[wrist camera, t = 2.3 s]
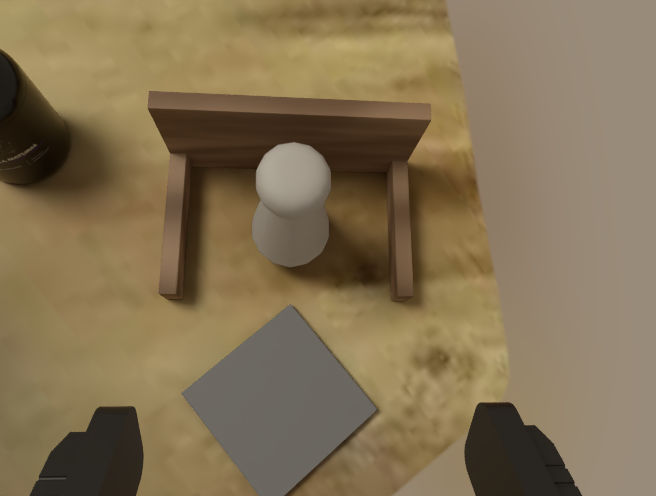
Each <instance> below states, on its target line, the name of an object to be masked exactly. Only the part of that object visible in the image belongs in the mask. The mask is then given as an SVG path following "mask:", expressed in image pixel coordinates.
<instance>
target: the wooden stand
mask: <svg viewBox="0 0 656 496" xmlns="http://www.w3.org/2000/svg"><path fill="white" fill-rule="evenodd" d="M148 110H149V112H150V114H151V116H152V118H153V120H154V122H155V124H156V126H157V128H158V130H159V132H160V134H161V136H162V138H163V140H164V142H165V144H166V146H167V148H168V150H169V152H170V161H169V173H168V185H167V198H166V210H165V222H164V234H163V246H162V259H161V271H160V283H159V294H160V295H161V296H163V297H164V298H166V299H183V285H184V270H185V256H186V242H187V227H188V213H189V198H190V184H191V170H192V167H221V168H252V169H257V168H258V166H259V164H260V162H261V160H262V159H263V157H264V155H265V154H266V153H267V152H269V151H270V150H272V149H273V148H274V147H276V146H277V145H280V144H286V143H292V142H295V143H300V144H304V145H309V146H311V147H312V148H313V149H315V150H316V151H317V152H319V153H320V154H321V155H323V157H324V159H325V161H326V163H327V165H328V166H329V168H330V171H345V172H376V173H386V181H387V209H388V236H389V264H390V291H391V301H407V300H408V299H410V298H412V297H413V296H414V292H413V271H412V250H411V230H410V209H409V188H408V167H407V161H408V159H409V157H410V156H411V154H412V152H413V151H414V149H415V147H416V146H417V144H418V142H419V140H420V139H421V137H422V135H423V134H424V132H425V130H426V128H427V127H428V125H429V123H430V122H431V105H430V104H423V103H401V102H379V101H357V100H334V99H312V98H290V97H268V96H246V95H224V94H202V93H179V92H157V91H149V98H148Z"/></svg>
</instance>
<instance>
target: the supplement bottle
mask: <svg viewBox="0 0 656 496" xmlns="http://www.w3.org/2000/svg"><path fill="white" fill-rule="evenodd" d="M69 148H70V136H69V132H68V129H67V127H66V125H65V123H64V121H63V120H62V119H61V117H60V116H59V115H58V113H57V112H56V111H55V110H54V108H53V107H52V106H51V105H50V103H49V102H48V101H47V100H46V99H45V97H44V96H43V95H42V94H41V92H40V91H39V90H38V89H37V87H36V86H35V85H34V84H33V82H32V81H31V80H30V79H29V77H28V76H27V75H26V74H25V72H24V71H23V70H22V69H21V68H20V66H19V65H18V64H17V63H16V62H15V61H14V60H13V58H12V57H11V56H9V55H8V54H7V53H6V52H4V51H3V50H1V49H0V180H2V181H5V182H8V183H14V184H28V183H34V182H37V181H40V180H43V179H45V178H47V177H48V176H50V175H52V174H53V173H54V172H55V171H57V170H58V169H59V168H60V166H61V165H62V164H63V162H64V161H65V159H66V157H67V155H68V152H69Z"/></svg>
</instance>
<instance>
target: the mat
mask: <svg viewBox="0 0 656 496" xmlns="http://www.w3.org/2000/svg"><path fill="white" fill-rule="evenodd" d="M181 394H182V395H183V396H184V397H185V399H186V400H187V401H188V403H189V404H190V405H191V407H192V408H193V409H194V411H195V412H196V413H197V415H198V416H199V417H200V418H201V420H202V421H203V422H204V424H205V425H206V426H207V428H208V429H209V430H210V432H211V433H212V434H213V436H214V437H215V438H216V439H217V441H218V442H219V443H220V445H221V446H222V447H223V449H224V450H225V451H226V453H227V454H228V455H229V457H230V458H231V459H232V461H233V462H234V463H235V464H236V466H237V467H238V468H239V470H240V471H241V472H242V474H243V475H244V476H245V478H246V479H247V480H248V482H249V483H250V484H251V485H252V487H253V488H254V489H255V491H256V492H257V493H258V495H259V496H284V495H285V494H287V493H288V492H289V491H290V490H291V489H292V488H293V487H294V486H295V485H296V484H297V483H298V482H299V481H301V480H302V479H303V478H304V477H305V476H306V475H307V474H308V473H309V472H310V471H311V470H312V469H314V468H315V467H316V466H317V465H318V464H319V463H320V462H321V461H322V460H323V459H324V458H325V457H326V456H328V455H329V454H330V453H331V452H332V451H333V450H334V449H335V448H336V447H337V446H338V445H339V444H341V443H342V442H343V441H344V440H345V439H346V438H347V437H348V436H349V435H350V434H351V433H352V432H353V431H355V430H356V429H357V428H358V427H359V426H360V425H361V424H362V423H363V422H364V421H365V420H366V419H368V418H369V417H370V416H371V415H372V414H373V413H374V412H375V411H376V410H377V408H376V407H375V406H374V405H373V403H372V402H371V401H370V400H369V399H368V397H367V396H366V395H365V394H364V392H363V391H362V390H361V389H360V388H359V386H358V385H357V384H356V383H355V382H354V380H353V379H352V378H351V377H350V376H349V374H348V373H347V372H346V371H345V369H344V368H343V367H342V366H341V365H340V363H339V362H338V361H337V360H336V359H335V357H334V356H333V355H332V354H331V352H330V351H329V350H328V349H327V348H326V346H325V345H324V344H323V343H322V342H321V340H320V339H319V338H318V337H317V335H316V334H315V333H314V332H313V331H312V329H311V328H310V327H309V326H308V325H307V323H306V322H305V321H304V320H303V318H302V317H301V316H300V315H299V314H298V312H297V311H296V310H295V309H294V308H293V306H292V305H291V304H290V305H289V306H288V307H286V308H285V309H284V310H283V311H281V312H280V313H279V314H278V315H277V316H275V317H274V318H273V319H272V320H270V321H269V322H268V323H267V324H266V325H264V326H263V327H262V328H261V329H259V330H258V331H257V332H256V333H254V334H253V335H252V336H251V337H250V338H248V339H247V340H246V341H245V342H243V343H242V344H241V345H240V346H239V347H237V348H236V349H235V350H234V351H232V352H231V353H230V354H229V355H228V356H226V357H225V358H224V359H223V360H221V361H220V362H219V363H218V364H216V365H215V366H214V367H213V368H212V369H210V370H209V371H208V372H207V373H205V374H204V375H203V376H202V377H201V378H199V379H198V380H197V381H196V382H194V383H193V384H192V385H191V386H190V387H188V388H187V389H186V390H185V391H183V392H182V393H181Z"/></svg>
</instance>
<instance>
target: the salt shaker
mask: <svg viewBox="0 0 656 496" xmlns="http://www.w3.org/2000/svg"><path fill="white" fill-rule="evenodd" d="M256 190H257V193H258V195H259V197H260V199H261V200H260V202H259V205H258V207H257V210H256V212H255V215H254V217H253V220H252V237H253V239H254V242H255V244H256V246H257V248H258V250H259V252H260V253H261V254H262V255H264V256H265V257H266V258H267V259H269V260H270V261H271V262H273V263H274V264H278V265H282V266H286V267H295V266H299V265H303V264H307V263H309V262H310V261H311V260H313V259H314V258H315V257H317V256H318V255H320V254H321V253H322V251H323V249H324V247H325V245H326V243H327V240H328V238H329V219H328V216H327V212H326V209H325V205H324V203H325V201H326V199H327V197H328V195H329V192H330V190H331V172H330V168H329V166H328V165H327V163H326V161H325V159H324V157H323V155H321V154H320V153H319V152H317V151H316V150H315V149H313V148H312V147H311V146H309V145H304V144H300V143H295V142H292V143H286V144H280V145H277V146H276V147H274V148H273V149H272V150H270V151H269V152H267V153H266V154H265V155H264V157H263V159H262V160H261V162H260V164H259V166H258V168H257V170H256Z"/></svg>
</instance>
